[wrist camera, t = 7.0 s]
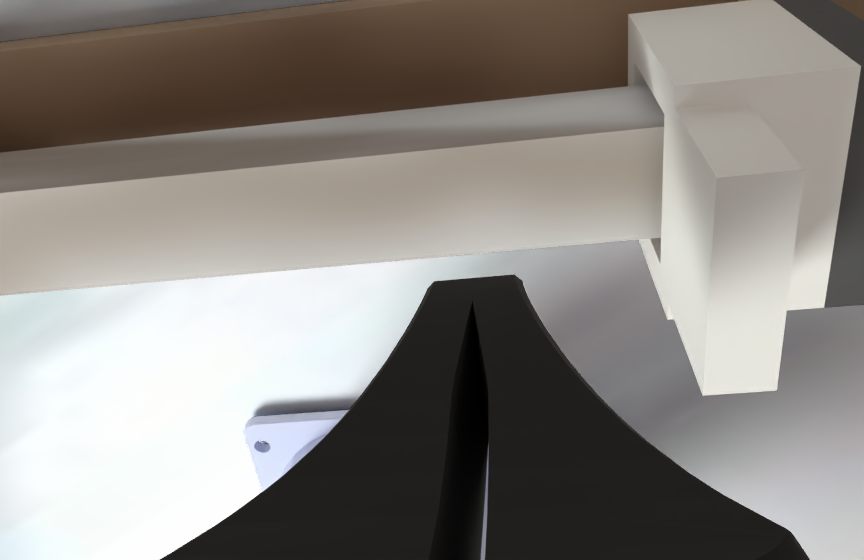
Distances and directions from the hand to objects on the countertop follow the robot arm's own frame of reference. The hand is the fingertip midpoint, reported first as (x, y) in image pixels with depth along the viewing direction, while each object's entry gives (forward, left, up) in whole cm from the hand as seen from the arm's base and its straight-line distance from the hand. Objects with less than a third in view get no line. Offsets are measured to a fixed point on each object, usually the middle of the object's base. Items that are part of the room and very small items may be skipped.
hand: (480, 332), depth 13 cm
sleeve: (0, -5, -8) cm, 10 cm away
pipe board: (0, +2, -10) cm, 10 cm away
